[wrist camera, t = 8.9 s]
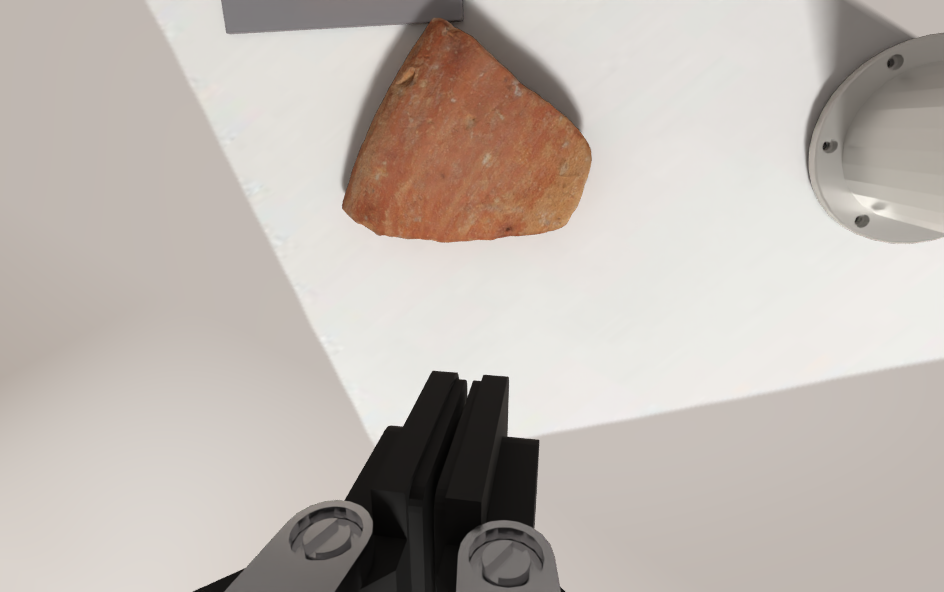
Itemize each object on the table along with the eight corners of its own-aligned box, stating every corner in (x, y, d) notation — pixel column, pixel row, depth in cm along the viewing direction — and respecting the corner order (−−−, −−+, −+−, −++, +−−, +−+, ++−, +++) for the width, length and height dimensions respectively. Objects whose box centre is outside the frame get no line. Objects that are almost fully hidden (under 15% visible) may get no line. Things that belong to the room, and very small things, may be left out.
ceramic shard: (495, 327, 36) (324, 207, 37) (518, 296, 41) (369, 193, 43) (623, 136, 29) (408, -1, 30) (630, 131, 35) (449, 16, 36)
